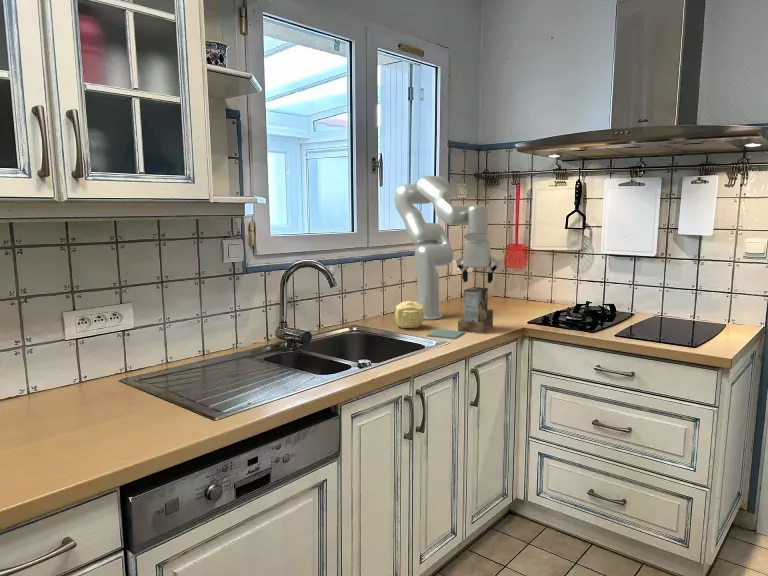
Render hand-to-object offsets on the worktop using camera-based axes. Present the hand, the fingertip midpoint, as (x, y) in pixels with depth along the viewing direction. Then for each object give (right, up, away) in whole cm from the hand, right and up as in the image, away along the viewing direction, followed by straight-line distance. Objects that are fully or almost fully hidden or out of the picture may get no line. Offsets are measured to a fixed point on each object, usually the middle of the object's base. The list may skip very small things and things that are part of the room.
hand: (477, 282), depth 217 cm
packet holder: (0, -18, +3) cm, 19 cm away
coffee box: (0, -19, +3) cm, 19 cm away
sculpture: (-26, -18, +7) cm, 33 cm away
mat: (-13, -20, -6) cm, 24 cm away
